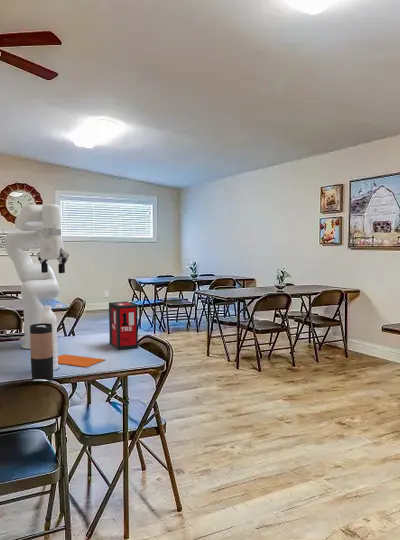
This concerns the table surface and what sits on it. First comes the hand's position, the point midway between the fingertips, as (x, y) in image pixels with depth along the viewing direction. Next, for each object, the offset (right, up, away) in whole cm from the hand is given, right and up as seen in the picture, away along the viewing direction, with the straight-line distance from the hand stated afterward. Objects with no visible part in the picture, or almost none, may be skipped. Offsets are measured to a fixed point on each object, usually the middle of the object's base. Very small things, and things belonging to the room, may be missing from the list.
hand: (53, 272), depth 202 cm
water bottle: (+6, -38, -19) cm, 43 cm away
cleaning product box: (+27, -35, +21) cm, 49 cm away
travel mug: (+7, -39, -34) cm, 52 cm away
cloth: (+11, -37, -7) cm, 39 cm away
